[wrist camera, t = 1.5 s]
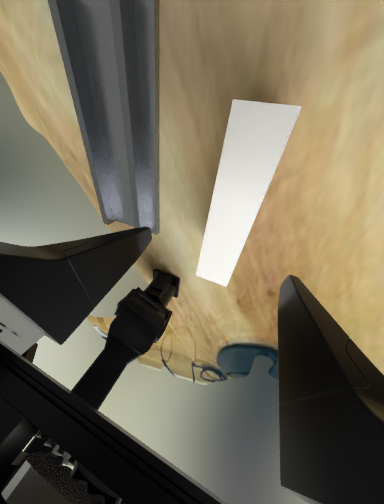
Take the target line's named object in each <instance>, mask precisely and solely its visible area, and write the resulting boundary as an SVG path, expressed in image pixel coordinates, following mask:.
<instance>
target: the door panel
mask: <svg viewBox="0 0 384 504" xmlns="http://www.w3.org/2000/svg"><path fill="white" fill-rule="evenodd" d="M301 108H302V106H293V105H283V104H274V103H264V102H255V101H245V100H235V99H233V102H232V106H231V111H230V116H229V121H228V125H227V130H226V135H225V140H224V144H223V149H222V154H221V158H220V163H219V168H218V173H217V177H216V182H215V187H214V192H213V196H212V201H211V206H210V211H209V215H208V220H207V225H206V230H205V234H204V239H203V244H202V249H201V253H200V258H199V263H198V267H197V272H196V276H199V277H202V278H204V279H207V280H210V281H212V282H215V283H218V284H220V285H223V286H225V287H227V284H228V282H229V279H230V277H231V275H232V272H233V270H234V267H235V265H236V263H237V260H238V258H239V256H240V253H241V251H242V248H243V246H244V244H245V241H246V239H247V236H248V234H249V232H250V229H251V227H252V225H253V222H254V220H255V217H256V215H257V213H258V210H259V208H260V205H261V203H262V201H263V198H264V196H265V193H266V191H267V189H268V186H269V184H270V182H271V179H272V177H273V174H274V172H275V170H276V167H277V165H278V162H279V160H280V158H281V155H282V153H283V151H284V148H285V146H286V143H287V141H288V139H289V136H290V134H291V131H292V129H293V127H294V124H295V122H296V120H297V117H298V115H299V112H300V110H301Z"/></svg>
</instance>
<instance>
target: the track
mask: <svg viewBox="0 0 384 504" xmlns="http://www.w3.org/2000/svg"><path fill="white" fill-rule="evenodd" d="M48 3H49V7H50V11H51V15H52V19H53V23H54V27H55V31H56V35H57V39H58V43H59V47H60V51H61V55H62V59H63V63H64V67H65V71H66V75H67V79H68V83H69V87H70V90H71V94H72V98H73V102H74V106H75V110H76V114H77V118H78V122H79V126H80V130H81V134H82V138H83V142H84V146H85V150H86V154H87V158H88V162H89V166H90V170H91V174H92V178H93V182H94V186H95V190H96V194H97V198H98V202H99V206H100V210H101V214H102V218H103V222H104V223H105V224H108V225H109V224H111V223H113V222H115V221H119V222H122V223H125V224H128V225H131V226H134V227H135V228H139V227H144V226H146V227H149V228H151V232H152V233H155V234H158V233H159V0H48Z"/></svg>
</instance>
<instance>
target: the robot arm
mask: <svg viewBox="0 0 384 504" xmlns="http://www.w3.org/2000/svg"><path fill="white" fill-rule="evenodd" d="M151 239H152V236H151V228H149V227H146V226H144V227H139V228H134V229H129V230H124V231H120V232H115V233H110V234H106V235H100V236H95V237H92V238H86V239H81V240H75V241H70V242H63V243H57V244H50V245H44V246H36V247H27V246H19V245H14V244H8V243H3V242H0V504H227V503H226V502H225V501H223V500H222V499H221V498H219V497H218V496H216V495H215V494H214V493H212V492H211V491H209V490H208V489H207V488H205V487H204V486H202V485H201V484H200V483H198V482H197V481H195V480H194V479H192V478H191V477H190V476H188V475H187V474H186V473H184V472H183V471H182V470H180V469H179V468H177V467H176V466H174V465H173V464H172V463H170V462H169V461H168V460H166V459H165V458H163V457H162V456H161V455H159V454H158V453H156V452H155V451H154V450H152V449H151V448H149V447H148V446H147V445H145V444H144V443H142V442H141V441H140V440H138V439H137V438H135V437H134V436H133V435H131V434H130V433H128V432H127V431H126V430H124V429H123V428H122V427H120V426H119V425H117V424H116V423H114V422H113V421H112V420H110V419H109V418H108V417H106V416H105V415H104V414H102V413H101V412H99V411H98V409H99V407H100V406H101V404H102V403H103V401H104V400H105V398H106V396H107V395H108V393H109V392H110V390H111V389H112V387H113V386H114V384H115V382H116V381H117V379H118V378H119V376H120V374H121V373H122V372H123V370H124V368H125V367H126V365H127V364H128V363H130V362H131V361H133V360H135V359H136V358H138V357H139V356H141V355H143V354H145V353H146V352H147V351H148V350H149V349H150V347H151V346H152V344H153V343H156V342H157V341H158V340H159V339H160V337H161V336H162V334H163V332H164V331H165V329H166V326H167V324H168V322H169V319H170V317H171V315H172V311H170V310H168V309H167V308H166V306H167V305H168V303H169V302H170V300H171V298H172V297H173V296H174V297H178V292H179V284H180V279H179V278H177V277H175V276H172V275H170V274H167V273H164V272H162V271H159V270H157V269H154V270H153V281H152V282H151V283H150V284H149V286H148V287H147V288H146V289H145V291H142V290H141V289H140V288H139V287H138V288H137V289H132V291H131V292H130V293H129V294H128V295H127V296H126V297H124V298H123V299H122V300H121V301H120V302H119V303H118V304H117V311H116V312H115V315H116V316H117V317H116V318H115V319H114V320H113V321H112V323H111V325H110V328H109V332H108V336H107V340H106V344H105V348H104V350H103V351H102V352H101V353H100V355H99V356H98V357H97V358H96V360H95V361H94V363H93V364H92V365H91V366H90V367H89V369H88V370H87V371H86V373H85V374H84V375H83V377H82V378H81V379H80V380H79V381H78V383H77V384H76V385H75V387H74V388H73V389H72V390H71V391H70V390H69V389H67V388H66V387H65V386H63V385H62V384H60V383H59V382H57V381H56V380H55V379H53V378H52V377H51V376H49V375H47V374H46V373H45V372H44V371H42V370H41V369H39V368H38V367H37V366H35V365H34V364H33V363H32V362H33V359H34V356H35V352H36V349H37V346H38V344H37V343H36V342H37V341H38V340H39V339H40V338H42V337H43V336H44V335H46V336H47V337H49V338H50V339H52V340H53V341H55V342H57V343H58V344H60V345H62V344H63V343H64V342H65V341H66V340H67V339H68V337H69V336H70V335H71V334H72V333H73V332H74V331H75V329H76V328H77V327H78V326H79V325H80V324H81V323H82V322H83V320H84V319H85V318H86V317H87V316H88V315H89V314H90V313H91V311H92V310H93V309H94V308H95V307H96V306H97V304H98V303H99V302H100V301H101V300H102V299H103V298H104V296H105V295H106V294H107V293H108V292H109V291H110V290H111V288H113V286H114V285H115V284H116V283H117V282H118V281H119V280H120V279H121V277H122V276H123V275H124V274H125V273H126V272H127V271H128V269H129V268H130V267H131V266H132V265H133V264H134V263H135V262H136V260H137V259H138V258H139V257H140V256H141V254H142V253H143V251H144V250H145V249H146V247H147V246H148V244H149V243H150V241H151ZM278 362H279V404H280V405H279V426H280V477H281V478H280V479H281V486H282V487H284V488H285V489H287V490H288V491H290V492H291V493H293V494H295V495H296V496H298V497H299V498H301V499H302V500H304V501H305V502H307V503H309V504H384V375H383V374H382V373H381V372H380V371H379V370H378V369H377V368H376V367H375V366H374V365H373V363H372V362H371V361H370V360H369V359H368V358H367V357H366V356H365V355H364V353H363V352H362V351H361V350H360V349H359V348H358V347H357V345H356V344H355V343H354V342H353V341H352V340H351V339H350V338H349V336H348V335H347V334H346V333H345V332H344V330H343V329H342V328H341V327H340V326H339V325H338V323H337V322H336V321H335V320H334V319H333V318H332V316H331V315H330V314H329V313H328V312H327V311H326V309H325V308H324V307H323V306H322V305H321V304H320V302H319V301H318V300H317V299H316V298H315V297H314V295H313V294H312V293H311V292H310V291H309V290H308V289H307V287H306V286H305V285H304V284H303V283H302V282H301V280H300V279H299V278H298V277H296V276H293V275H289V276H287V278H286V279H285V280H284V282H283V283H282V284H281V287H280V295H279V303H278ZM33 436H34V437H35V438H34V439H33V440H32V441H31V443H30V444H29V445H28V447H27V448H26V449H25V450H24V452H23V451H22V450H23V449H24V448H25V446H26V445H27V444H28V443H29V441H30V440H31V439H32V437H33ZM63 463H64V464H66V465H71V466H74V469H73V470H72V469H71V468H69V467H68V466H62V465H63Z"/></svg>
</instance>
